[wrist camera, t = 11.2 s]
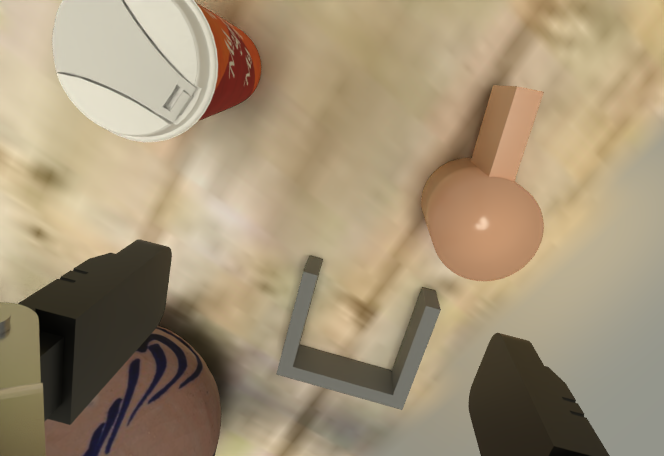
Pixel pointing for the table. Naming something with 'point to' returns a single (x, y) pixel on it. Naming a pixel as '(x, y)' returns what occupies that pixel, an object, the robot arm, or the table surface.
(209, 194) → the table surface
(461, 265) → the peach mallet
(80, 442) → the ceramic pitcher
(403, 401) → the charcoal holder
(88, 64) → the coffee cup
